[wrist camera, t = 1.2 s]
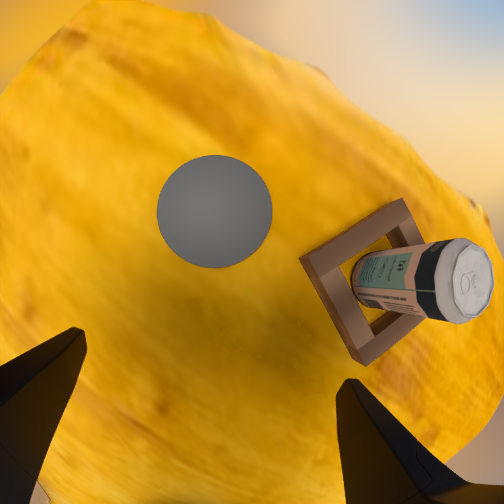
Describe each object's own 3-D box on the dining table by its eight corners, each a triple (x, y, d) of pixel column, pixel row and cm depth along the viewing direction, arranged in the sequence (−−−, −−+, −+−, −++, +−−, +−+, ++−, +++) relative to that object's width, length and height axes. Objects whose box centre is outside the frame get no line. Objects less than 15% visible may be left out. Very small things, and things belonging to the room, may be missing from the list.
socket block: (430, 296, 25) (446, 297, 22) (352, 359, 23) (365, 366, 21) (387, 203, 25) (402, 197, 22) (298, 258, 24) (307, 256, 21)
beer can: (398, 300, 24) (499, 312, 12) (353, 313, 24) (450, 338, 12) (391, 248, 25) (492, 230, 13) (345, 257, 24) (441, 242, 12)
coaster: (292, 232, 24) (293, 231, 23) (192, 289, 22) (191, 289, 22) (236, 139, 24) (236, 137, 23) (140, 190, 23) (138, 189, 22)
